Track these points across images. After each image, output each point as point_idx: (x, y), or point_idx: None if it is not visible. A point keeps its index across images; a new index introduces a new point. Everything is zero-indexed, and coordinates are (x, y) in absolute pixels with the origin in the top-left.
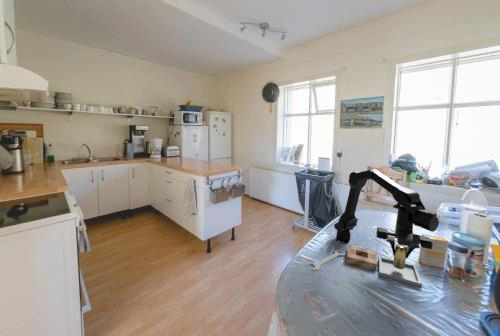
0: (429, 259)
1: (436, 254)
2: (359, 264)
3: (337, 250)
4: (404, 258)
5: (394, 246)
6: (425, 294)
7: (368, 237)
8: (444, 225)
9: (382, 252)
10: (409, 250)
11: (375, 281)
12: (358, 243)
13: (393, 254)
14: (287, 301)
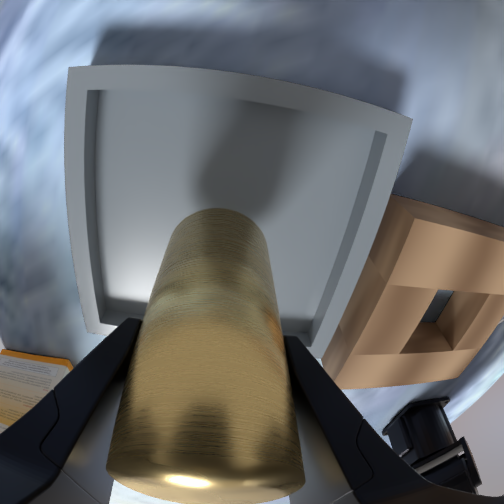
0: (34, 385)
1: (1, 408)
2: (477, 221)
3: (500, 321)
4: (160, 300)
5: (347, 465)
6: (87, 6)
7: None
8: None
9: None
10: (64, 428)
11: (431, 44)
12: None
13: (299, 343)
14: None
